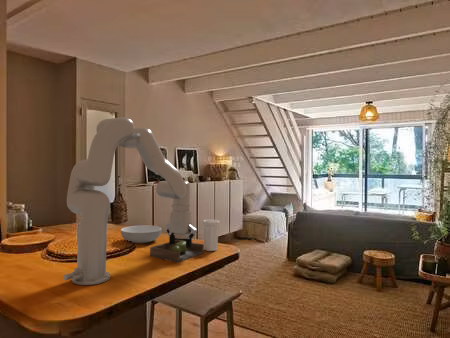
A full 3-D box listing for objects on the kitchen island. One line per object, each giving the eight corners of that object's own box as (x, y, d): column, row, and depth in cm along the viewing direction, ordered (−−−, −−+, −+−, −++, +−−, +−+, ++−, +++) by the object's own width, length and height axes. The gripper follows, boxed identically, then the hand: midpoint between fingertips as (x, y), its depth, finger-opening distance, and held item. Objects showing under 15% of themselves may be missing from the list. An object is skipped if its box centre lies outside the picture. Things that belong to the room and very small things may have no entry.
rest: (177, 262, 141) (177, 253, 141) (149, 256, 149) (150, 247, 149) (203, 253, 157) (203, 244, 157) (177, 247, 165) (177, 239, 165)
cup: (210, 247, 168) (211, 218, 168) (222, 250, 163) (223, 221, 162) (198, 249, 163) (199, 220, 162) (210, 253, 157) (211, 222, 157)
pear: (190, 240, 154) (176, 248, 145) (191, 251, 155) (177, 259, 146) (180, 238, 157) (166, 246, 148) (181, 249, 158) (167, 257, 149)
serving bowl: (149, 235, 191) (150, 223, 191) (168, 243, 175) (168, 229, 175) (114, 240, 178) (114, 227, 178) (130, 248, 162) (131, 234, 161)
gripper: (161, 207, 153) (160, 244, 153) (191, 210, 144) (190, 250, 144) (172, 205, 160) (171, 241, 160) (201, 209, 150) (200, 247, 151)
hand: (180, 245), depth 152 cm, fingers open, 9 cm apart
